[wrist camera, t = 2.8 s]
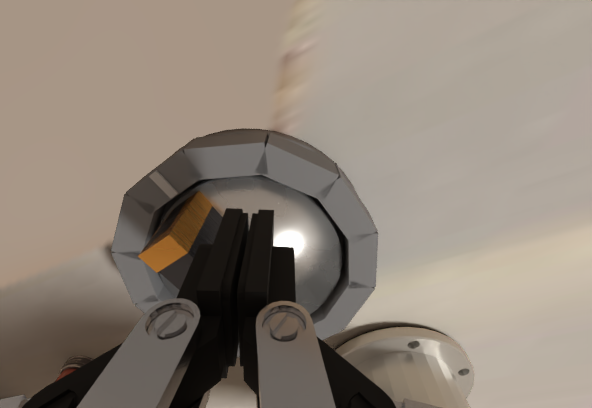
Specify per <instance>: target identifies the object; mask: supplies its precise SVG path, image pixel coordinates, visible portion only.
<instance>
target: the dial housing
mask: <svg viewBox="0 0 592 408" xmlns="http://www.w3.org/2000/svg"><path fill="white" fill-rule="evenodd" d="M252 175H263V176H266V177H268V178H270V179H273V180H275V181H277V182H280V183H282V184H284V185H287V186H289V187H291V188H294V189H296V190H298V191H301V192H303V193H305V194H308V195H310V196H312V197H315V198H317V199H318V200H319V201H320V202H321V204H322V205H323V206H324V208H325V209H326V211H327V212H328V213H329V215H330V216H331V217H332V219H333V222H334V224H335V226H336V230H337V234H338V238H339V242H340V246H341V253H342V267H341V272H340V277H339V279H338V282H337V284H336V287H335V288H334V290H333V292H332V294H331V295H330V296H329V298H328V299H327V300H326V301H325V302H324V303H323V304H322V305H321V306H320V307H319V308H318V309H317V310H315V311H314V312H313V313H311V314H310V316H311V318H312V321H313V325H314V329H315V332H316V336H317V337H318V338H320V339H321V340H324V339H326V338H328V337H330V336H332V335H335V334H337V333H339V332H341V331H342V329H343V330H344V329H345V327H346V326H347V325H348V323H349V322H350V321H351V320H352V318H353V317H354V316H355V314H356V313H357V312H358V310H359V309H360V308H361V307H362V305H363V304H364V303H365V301H366V300H367V299H368V297H369V296H370V295H371V293H372V292H373V291H374V290H375V288H374V287H376V268H377V246H378V232H377V229H376V227H375V225H374V223H373V220H372V218H371V216H370V214H369V212H368V210H367V209H366V207H365V206H364V204H363V203H362V201H361V200H360V198H359V197H358V195H357V193H356V191H355V189H354V187H353V185H352V184H351V182H350V181H349V179H348V178H347V176H346V175H345V174H344V172H343V171H342V170H341V169H340V168H339V167H338V165H337V164H336V163H334V161H332V160H331V159H330V158H328V157H327V156H326V155H325V154H324V153H322V152H321V151H319V150H318V149H316V148H314V147H313V146H311V145H309V144H308V143H306V142H303V141H301V140H299V139H297V138H294V137H292V136H289V135H285V134H282V133H278V132H274V131H268V130H262V129H234V130H225V131H221V132H217V133H213V134H209V135H206V136H204V137H199V138H196V139H193V140H191V141H190V142H189V143H188V144H186V145H185V146H183V147H182V148H180V149H179V150H178V151H176V152H175V153H174V154H173V155H172V156H170V157H169V158H168V159H167V160H165V161H164V162H163V163H162V164H160V165H159V166H158V167H156V168H155V169H154V170H152V171H151V172H150V173H148V174H147V175H146V176H144V177H143V178H142V179H141V180H140V181H139V182H137V183H136V184H135V185H134V186H133V187H132V188H130V189H129V190H128V191H127V192H126V194H125V195H124V199H123V203H122V207H121V211H120V215H119V219H118V224H117V228H116V232H115V236H114V240H113V244H112V248H111V251H113V252H112V253H111V254H112V256H113V258H114V261H115V263H116V265H117V268H118V270H119V272H120V274H121V277H122V279H123V281H124V284H125V286H126V288H127V290H128V293H129V295H130V297H131V300H132V302H133V304H135V303H136V304H135V306H136V307H137V308H139V309H140V310H141V311H142V312H144V313H146V312H147V311H148V309H150V308H151V307H153V306H154V305H156V304H157V303H160V302H162V301H165V300H169V299H174V298H175V297H174V296H173V295H172V294H171V293H170V291H169V290H168V289H167V287H166V286H165V284H164V282H163V281H162V279H161V276H160V274H159V272H157V273H156V272H155V271H154V270H153V269H152V268H151V267H149V266H148V265H147V264H146V263H145V262H144V261H143V260H141V259H140V258H139V257H138V255H139V254H140V253H141V251H142V250H143V249H144V247H145V246H146V245H147V243H148V242H149V241H150V239H151V238H152V237H153V235H154V234H155V233H156V231H157V230H158V228H159V226H160V223H161V221H162V220H163V218H164V216H165V215H166V213H167V212H168V210H169V209H170V208H171V207H172V205H173V204H174V203H175V201H176V200H177V199H178V198H179V197H180V196H181V195H182V194H183V193H184V192H185V191H186V190H187V189H189V188H190V187H191V186H193V185H194V184H196V183H198V182H199V181H201V180H203V179H214V178H227V177H239V176H252ZM237 357H240V351H239V346H238V352H237Z"/></svg>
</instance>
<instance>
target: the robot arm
mask: <svg viewBox="0 0 592 408" xmlns="http://www.w3.org/2000/svg"><path fill="white" fill-rule="evenodd" d="M273 236H274V210H261V209H259V211H258V213H253V214H252V218H251V223H250V228H249V221H248V213H243V210H242V209H235V208H226V210H225V213H224V215H223V218H222V221H221V224H220V226H219V229H218V232H217V235H216V237H215V240H214V243H213V244H200V245H199V247H198V249H197V251H196V254H195V256H194V258H193V261H192V263H191V265H190V268H189V270H188V272H187V275H186V277H185V279H184V282H183V284H182V286H181V288H180V291H179V293H178V295H177V298H174V299H169V300H165V301H162V302H160V303H157V304H156V305H154V306H153V307H151V308H150V309H148V311H147V312H146V313H145V314H144V315H143V316H142V317H141V319H140V320H139V322H138V323H137V324H136V326H135V327H134V328H133V330H132V331H131V333H130V334H129V335H128V337H127V338H126V340H125V341H124V342H123V343H122V344H120V345H118V346H117V347H115V348H113V349H111V350H110V351H108V352H106V353H104V354H103V355H101V356H99V357H97V358H96V359H94V360H92V361H91V362H89V363H87V364H85V365H84V366H82V367H80V368H78V369H77V370H75V371H73V372H71V373H70V374H68V375H66V376H64V377H63V378H61V379H59V380H57V381H56V382H54V383H52V384H50V385H49V386H47V387H45V388H44V389H42V390H41V391H40V392H38V393H37V394H35V395H34V396H33V397H32V398H29V399H27V398H26V397H25V395H19V396H14V397H9V398H4V399H0V408H205V407H206V405H207V402H208V399H209V395H210V389H211V388H212V387H213V386H214V385H216V384H217V383H218V382H219V381H221V378H227V373H228V367H229V366H235V364H236V358H237V352H238V346H239V351H240V366H244V381H245V382H246V383H247V385H248V386H249V387H250V388H251V389H252V390H253V391H254V392H255V394H256V403H257V408H470V406H469V404H468V402H467V400H466V398H467V397H468V396H469V394H470V392H471V389H472V387H473V385H474V377H475V374H474V370H473V366H472V364H471V362H470V360H469V358H468V356H467V354H466V353H465V351H464V350H463V349H462V348H461V346H460V345H459V344H458V343H456V342H455V341H454V340H452V339H451V338H450V337H448V336H445V335H443V334H441V333H439V332H436V331H432V330H428V329H424V328H414V327H392V328H386V329H380V330H375V331H372V332H369V333H366V334H363V335H360V336H358V337H356V338H354V339H352V340H350V341H348V342H346V343H345V344H343V345H342V346H340V347H339V348H337V349H336V350H335V351H334V350H333V349H332V348H331V347H329V346H328V345H327V344H326V343H324V342H323V341H322V340H321V339H320V338H318V337H317V336H316V332H315V329H314V325H313V321H312V318H311V316H310V314H309V312H308V311H307V310H306V309H305V308H304V307H302V306H301V305H299V304H297V303H296V289H295V255H294V247H285V246H273Z"/></svg>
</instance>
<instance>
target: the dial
mask: <svg viewBox="0 0 592 408" xmlns="http://www.w3.org/2000/svg"><path fill="white" fill-rule="evenodd" d="M226 208H235V209H242V210H243V213H248V221H249V228H250V223H251V218H252V214H253V213H258V211H259V209H261V210H274V236H273V246H285V247H294V255H295V289H296V303H297V304H299V305H301V306H302V307H304V308H305V309H306V310H307V311H308V312H309V314H311V313H313V312H314V311H315V310H317V309H318V308H319V307H320V306H321V305H322V304H323V303H324V302H325V301H326V300H327V299H328V298H329V296H330V295H331V294H332V292H333V290H334V288H335V287H336V284H337V282H338V279H339V277H340V272H341V267H342V253H341V246H340V242H339V238H338V234H337V230H336V226H335V224H334V222H333V219H332V217H331V216H330V215H329V213H328V212H327V211H326V209H325V208H324V206H323V205H322V204H321V202H320V201H319V200H318V199H317V198H315V197H312V196H310V195H308V194H305V193H303V192H301V191H298V190H296V189H294V188H291V187H289V186H287V185H284V184H282V183H280V182H277V181H275V180H273V179H270V178H268V177H266V176H263V175H252V176H239V177H227V178H214V179H203V180H201V181H199V182H198V183H196V184H194V185H193V186H191V187H190V188H189V189H187V190H186V191H185V192H184V193H183V194H182V195H181V196H180V197H179V198H178V199H177V200H176V201H175V203H174V204H173V205H172V207H171V208H170V209H169V210H168V212H167V213H166V215H165V216H164V218H163V220H162V221H161V223H160V226H159V228H158V230H157V231H156V233H155V234H154V235H153V237H152V238H151V239H150V241H149V242H148V243H147V245H146V246H145V247H144V249H143V250H142V251H141V253H140V254H139V255H138V257H139V258H140V259H141V260H143V261H144V262H145V263H146V264H147V265H148V266H149V267H151V268H152V269H153V270H154V271H155V272H156V273H157V272H159V274H160V276H161V279H162V281H163V282H164V284H165V286H166V287H167V289H168V290H169V291H170V293H171V294H172V295H173V296H174V297H175V298H177V295H178V293H179V291H180V288H181V286H182V284H183V282H184V279H185V277H186V275H187V272H188V270H189V268H190V265H191V263H192V261H193V258H194V256H195V254H196V251H197V249H198V247H199V245H200V244H213V243H214V240H215V237H216V235H217V232H218V229H219V226H220V224H221V221H222V218H223V215H224V213H225V210H226Z"/></svg>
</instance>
